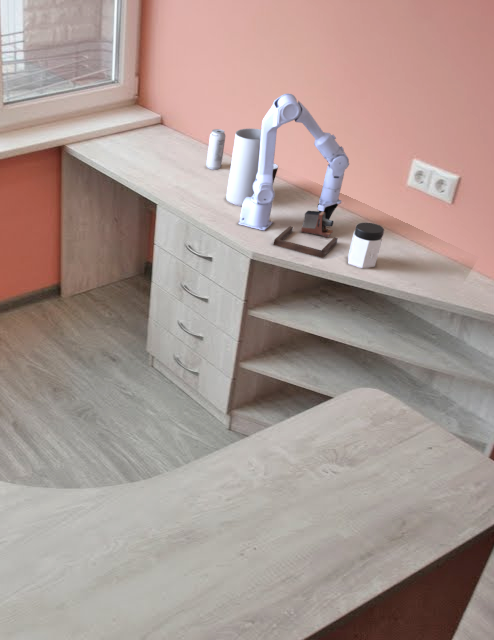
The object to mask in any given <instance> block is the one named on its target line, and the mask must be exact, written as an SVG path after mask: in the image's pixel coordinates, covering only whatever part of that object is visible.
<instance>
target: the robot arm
mask: <svg viewBox="0 0 494 640" xmlns="http://www.w3.org/2000/svg"><path fill="white" fill-rule="evenodd" d="M293 121H294V122H295V123H300V124H302V125H303V126H304V127H305V128H306V130H307V131H308V132H309V133H310V134H311V136H312V137H313V138H314V143H313V145H314V146H315V148H316V149H317V150H318V152H319V153H320V154H321V156H322V157H323V159H325V160H326V162H327V163H328V164H327V167H326V172H325V174H324V180H323V183H322V189H321V193H320V196H319V200H318V203H317V206H316V207H317V211H320V212H325V216H326V219H328V220H331V217H332V215H333V213H334V211H335V210H336V208H338V207H339V206H338V205H341V204H342V200H341V199H340V194H341V190H342V185H343V180H344V177H345V172H346V170H347V169H348V167H349V166H350V161H349V157H348V155H347V153H346V152H345V150H344V147H343V146H341V145H340V144H339V143H338V142H337V140H336V139H337V138H336V136H335V135H334V134H331V133H330V132H325V131H323V130H322V128H321V126H320V125H319V124H318V122H317V121H316V119H315V118H314V117H313V115H312V114H311V113H310V111H309V110H308V108H306V107H305V105H304V104H303V103H302V102H301V101H299V100H297V98H296V96H295V94H292V93H284V94H282V95H280V96H279V97H277V98H276V99H274V101H273V103H272V104H271V107H270V108H269V109H268V111H267V112H266V114H265V115H264V117H263V119H262V121H261V141H260V153H259V165H258V173H257V175H256V180H255V181H254V183H253V191H254V194H253V196H252V197H247V198H246V199H245V200H244V202H243V205H242V206H241V209H240V217H239V221H238V225H239V226H240V225H241V226H245V227H248V228H252V229H256V230H259V231H263V232H264V231H265V230H267V229H268V228H269V227H270V226H272V225H273V223H274V222H273V221H271V220H270V218H271V213H272V207H273V202H274V199H275V197H276V192H275V189H274V183H273V165H274V163H275V156H276V155H275V153H276V145H277V133H278V129H279V128H280V127H282V126H283V125H285V124H288V123H291V122H293Z"/></svg>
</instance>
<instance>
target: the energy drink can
mask: <svg viewBox="0 0 494 640" xmlns="http://www.w3.org/2000/svg"><path fill="white" fill-rule="evenodd" d="M208 141H209V142H208V147H207V155H206V162H205V166H206V168H207V169H208V170H212V171H214V170H215V171H216V170H220V168H221V167H222V163H223V156H224V149H225V142H226V133H225V130H224V129H220V128H214V129H212V130H211V132H210V134H209V140H208Z"/></svg>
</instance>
